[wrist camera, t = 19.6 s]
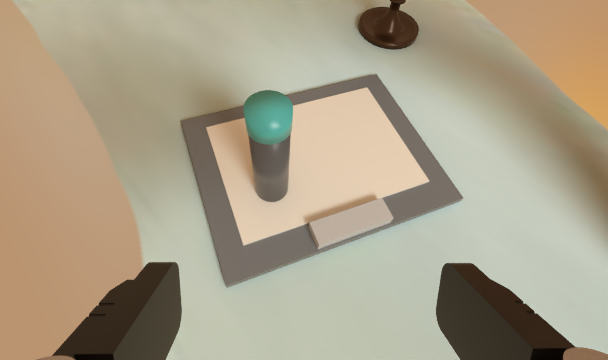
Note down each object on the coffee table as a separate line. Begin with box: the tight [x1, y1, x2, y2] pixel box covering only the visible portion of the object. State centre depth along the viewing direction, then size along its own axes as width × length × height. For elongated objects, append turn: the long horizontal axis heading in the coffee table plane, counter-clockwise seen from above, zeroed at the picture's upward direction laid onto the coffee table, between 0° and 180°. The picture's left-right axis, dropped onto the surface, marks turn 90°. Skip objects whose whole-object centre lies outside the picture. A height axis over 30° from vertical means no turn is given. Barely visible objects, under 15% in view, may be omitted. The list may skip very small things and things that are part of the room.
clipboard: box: [181, 74, 463, 287], centre depth 37 cm, size 26×20×2 cm
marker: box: [244, 90, 293, 202], centre depth 29 cm, size 4×4×12 cm
